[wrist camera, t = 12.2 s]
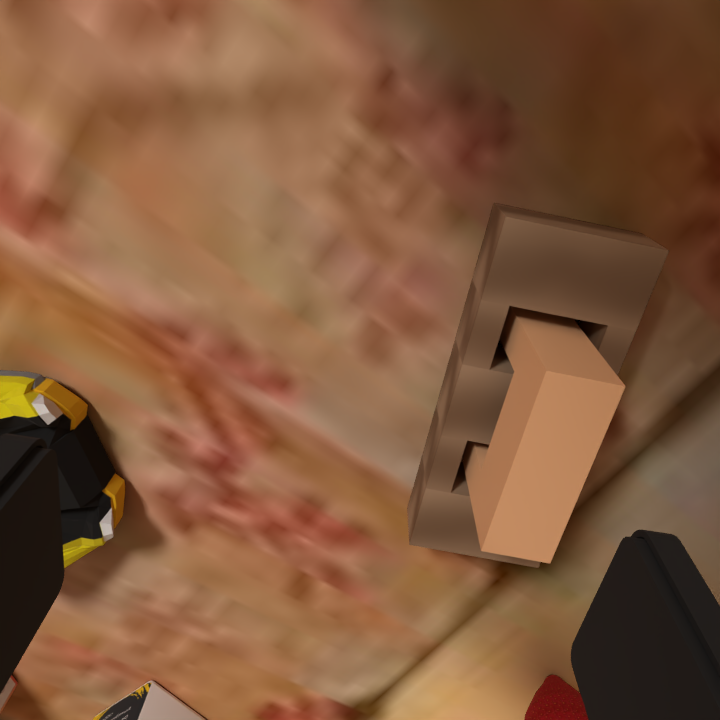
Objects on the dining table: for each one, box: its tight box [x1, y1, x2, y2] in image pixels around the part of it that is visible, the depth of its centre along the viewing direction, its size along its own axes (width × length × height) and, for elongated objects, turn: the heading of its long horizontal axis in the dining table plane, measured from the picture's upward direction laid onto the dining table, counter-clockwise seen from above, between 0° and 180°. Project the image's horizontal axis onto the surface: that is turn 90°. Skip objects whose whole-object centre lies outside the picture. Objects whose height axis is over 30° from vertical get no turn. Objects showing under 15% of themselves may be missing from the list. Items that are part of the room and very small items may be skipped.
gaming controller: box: [0, 370, 125, 569], centre depth 38 cm, size 15×6×10 cm
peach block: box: [462, 306, 626, 564], centre depth 33 cm, size 10×4×9 cm, turn 169°
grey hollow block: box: [407, 203, 669, 568], centre depth 35 cm, size 20×8×4 cm, turn 169°
